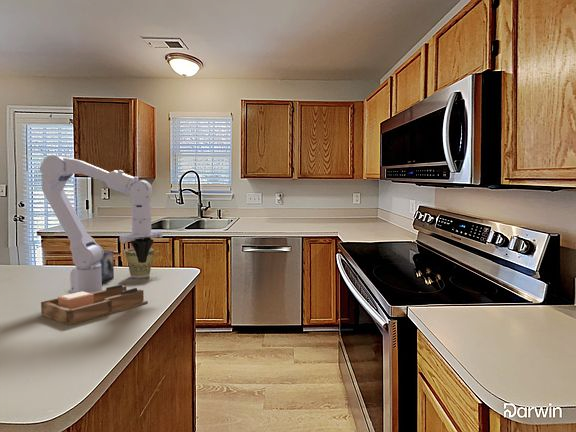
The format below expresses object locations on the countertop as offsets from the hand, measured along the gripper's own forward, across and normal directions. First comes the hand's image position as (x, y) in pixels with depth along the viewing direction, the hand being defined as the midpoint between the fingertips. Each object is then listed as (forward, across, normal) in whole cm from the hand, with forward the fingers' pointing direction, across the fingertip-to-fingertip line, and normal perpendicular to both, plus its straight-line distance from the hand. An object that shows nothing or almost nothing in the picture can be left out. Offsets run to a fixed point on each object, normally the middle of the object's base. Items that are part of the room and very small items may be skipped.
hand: (142, 262), depth 139 cm
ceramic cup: (+11, +17, +21) cm, 29 cm away
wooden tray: (+10, -17, -2) cm, 20 cm away
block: (+10, -23, -2) cm, 25 cm away
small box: (+11, +2, +27) cm, 29 cm away
